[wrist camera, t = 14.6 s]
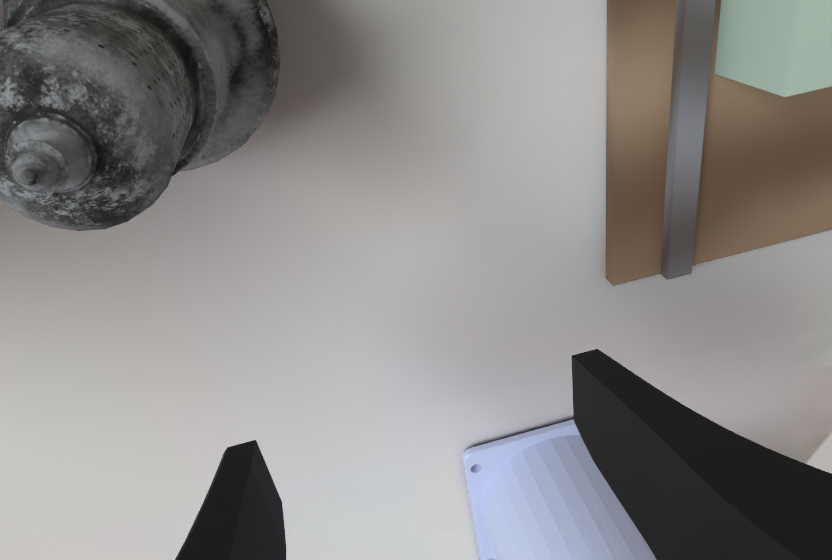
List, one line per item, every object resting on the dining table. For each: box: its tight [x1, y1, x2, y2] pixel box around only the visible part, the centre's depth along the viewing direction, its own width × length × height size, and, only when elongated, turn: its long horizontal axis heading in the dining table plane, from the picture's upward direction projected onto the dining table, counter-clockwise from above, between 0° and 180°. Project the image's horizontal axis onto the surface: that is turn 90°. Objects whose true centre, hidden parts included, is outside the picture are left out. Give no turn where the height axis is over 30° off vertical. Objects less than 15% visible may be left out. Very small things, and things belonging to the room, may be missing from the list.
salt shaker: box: [0, 0, 280, 231], centre depth 12 cm, size 6×6×12 cm
